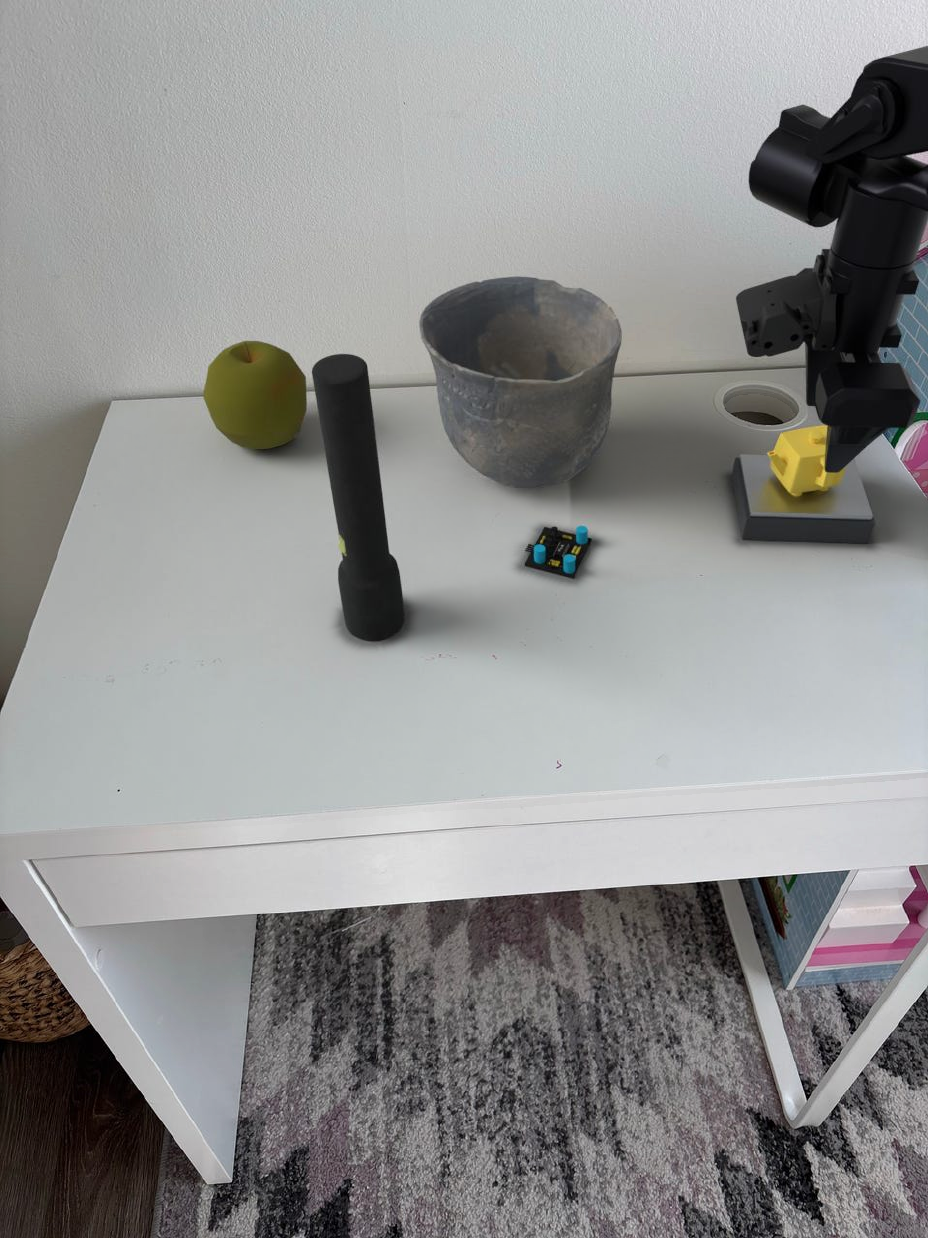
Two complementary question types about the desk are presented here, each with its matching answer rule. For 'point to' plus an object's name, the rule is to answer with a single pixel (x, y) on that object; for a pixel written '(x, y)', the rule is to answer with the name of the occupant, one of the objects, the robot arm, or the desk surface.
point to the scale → (799, 506)
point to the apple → (256, 395)
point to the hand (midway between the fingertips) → (821, 436)
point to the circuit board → (559, 551)
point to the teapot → (803, 461)
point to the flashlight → (357, 499)
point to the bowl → (523, 376)
